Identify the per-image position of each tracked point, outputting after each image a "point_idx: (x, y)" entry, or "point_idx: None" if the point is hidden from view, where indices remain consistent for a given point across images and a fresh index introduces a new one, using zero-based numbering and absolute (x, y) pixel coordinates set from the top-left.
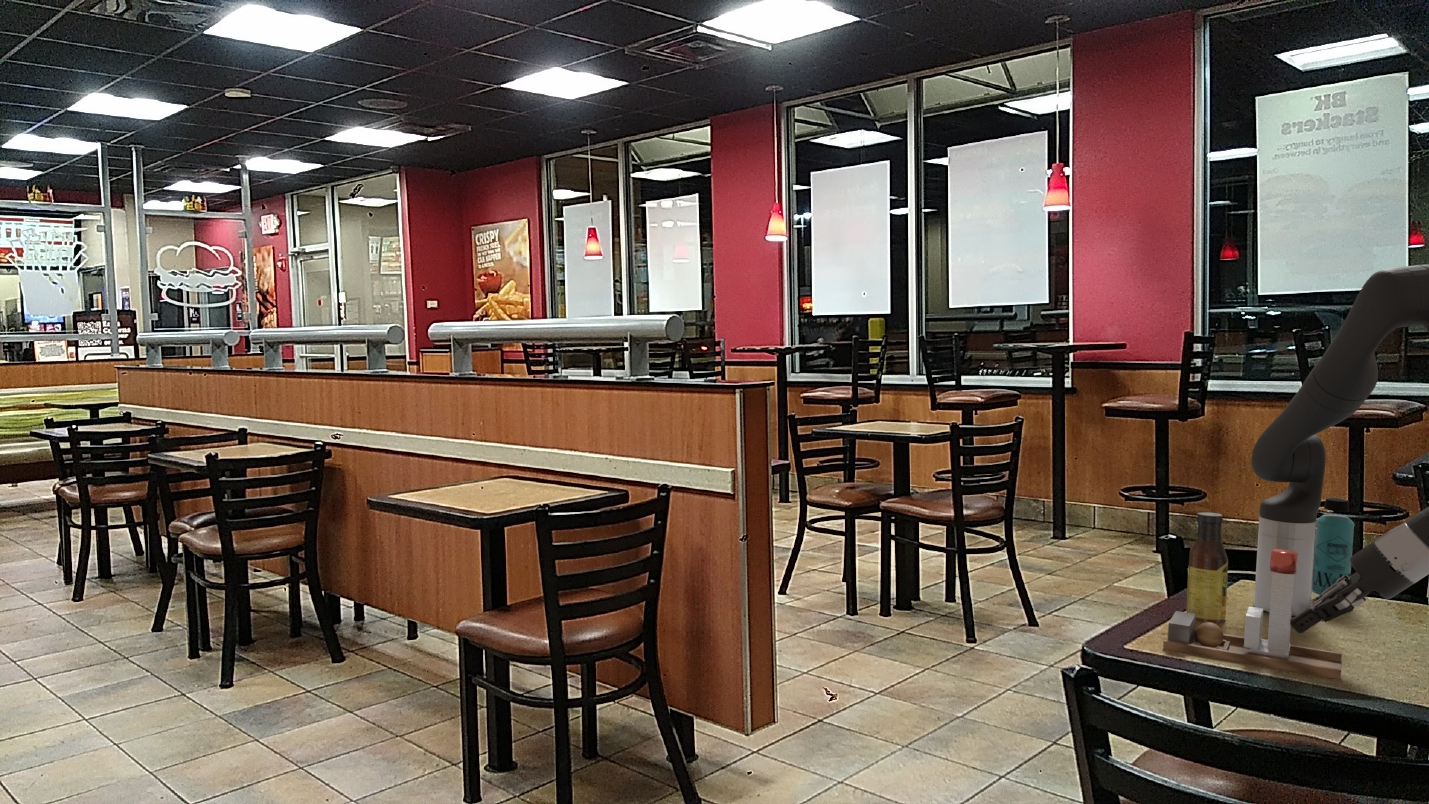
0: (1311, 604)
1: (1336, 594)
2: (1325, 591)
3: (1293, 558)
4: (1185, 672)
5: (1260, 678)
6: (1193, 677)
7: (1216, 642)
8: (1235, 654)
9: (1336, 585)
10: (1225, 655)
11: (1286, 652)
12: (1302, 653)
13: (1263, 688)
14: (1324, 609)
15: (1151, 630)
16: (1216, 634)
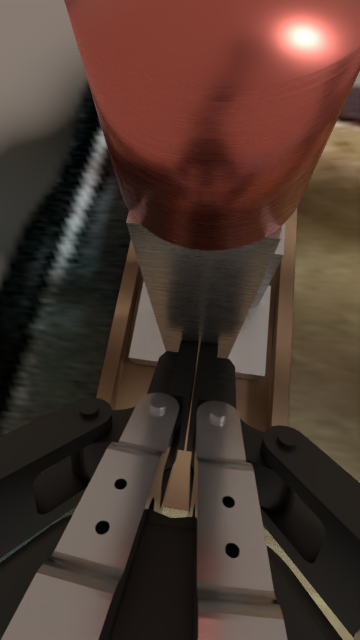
0: (225, 408)
1: (38, 540)
2: (205, 480)
3: (101, 93)
4: (83, 184)
5: (103, 313)
6: (57, 196)
7: None
8: (130, 246)
9: (199, 579)
10: None
11: (156, 355)
12: (269, 414)
13: (34, 314)
14: (76, 453)
15: (352, 125)
16: None
